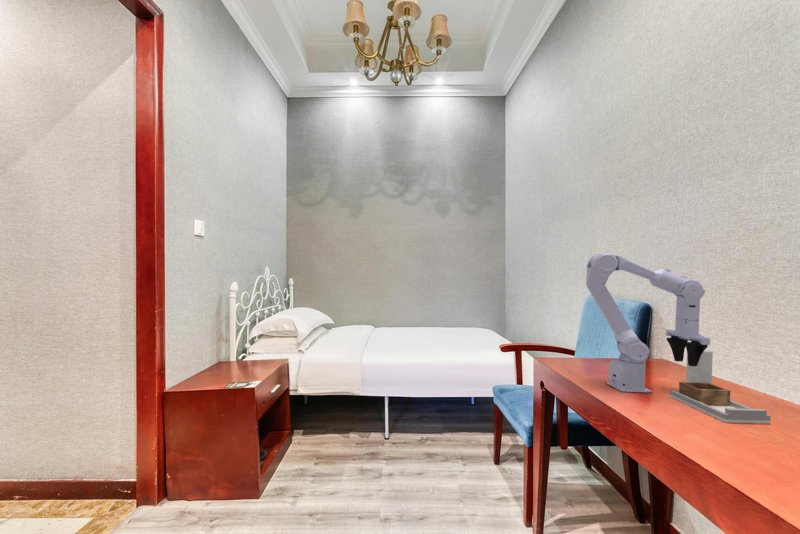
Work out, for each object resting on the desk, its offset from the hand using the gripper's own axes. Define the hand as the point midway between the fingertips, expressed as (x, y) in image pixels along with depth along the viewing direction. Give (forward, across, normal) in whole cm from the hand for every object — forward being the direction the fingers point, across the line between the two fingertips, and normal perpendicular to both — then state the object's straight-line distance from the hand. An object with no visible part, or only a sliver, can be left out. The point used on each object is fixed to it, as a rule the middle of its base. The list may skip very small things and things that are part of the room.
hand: (685, 363), depth 113 cm
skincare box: (+10, +10, -13) cm, 19 cm away
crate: (+8, -8, +1) cm, 12 cm away
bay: (+9, -12, +1) cm, 15 cm away
